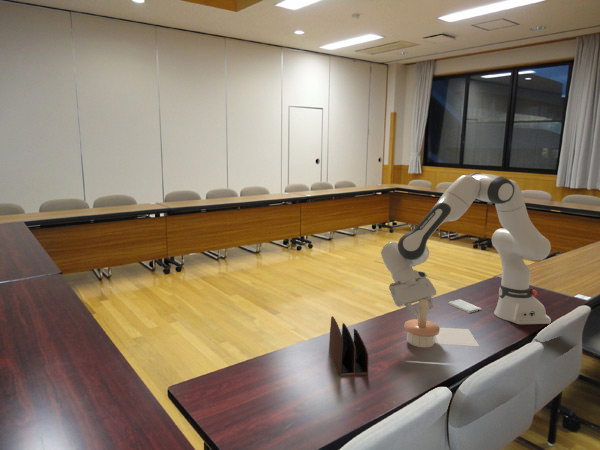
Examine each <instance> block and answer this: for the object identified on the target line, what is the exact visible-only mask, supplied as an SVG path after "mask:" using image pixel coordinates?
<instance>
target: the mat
mask: <svg viewBox="0 0 600 450" xmlns="http://www.w3.org/2000/svg"><path fill="white" fill-rule="evenodd" d="M439 328H440V330H439V334H437V335H435V340H436V341H437V343H438V345H447V346H464V347H465V346H466V347H480V345H479V343H478V342H477V340H476V339H475V337H474V335H473V334H472V332H471V331H470V329H469V328H453V327H450V328H449V327H439Z"/></svg>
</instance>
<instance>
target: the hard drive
mask: <svg viewBox="0 0 600 450" xmlns="http://www.w3.org/2000/svg"><path fill="white" fill-rule="evenodd" d="M447 304H448V305H449V306H452V307H454V308H456V309H459V310H461V311H463V312H466V313H468V314H472V313H475V311H476V312H479V311H478V310H480V311H482V307H480V306H476V305H474V304H472V303H470V302H468V301H465V300H463V299H455V300H451V301H449V302H448V303H447Z"/></svg>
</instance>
